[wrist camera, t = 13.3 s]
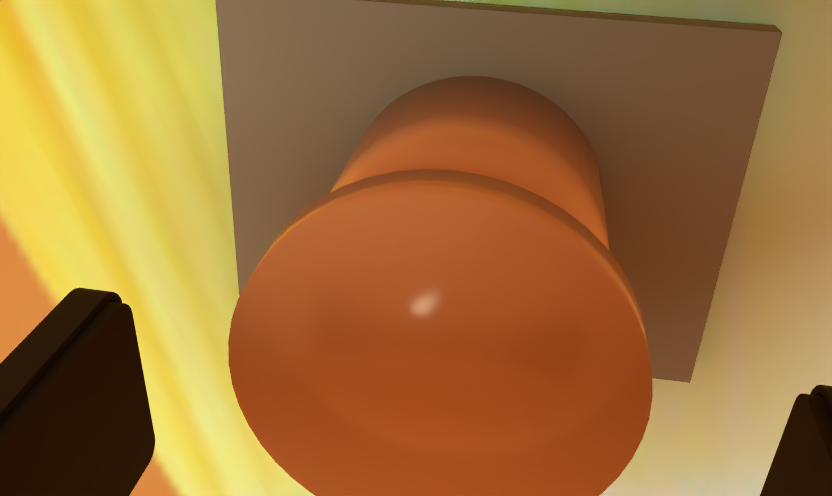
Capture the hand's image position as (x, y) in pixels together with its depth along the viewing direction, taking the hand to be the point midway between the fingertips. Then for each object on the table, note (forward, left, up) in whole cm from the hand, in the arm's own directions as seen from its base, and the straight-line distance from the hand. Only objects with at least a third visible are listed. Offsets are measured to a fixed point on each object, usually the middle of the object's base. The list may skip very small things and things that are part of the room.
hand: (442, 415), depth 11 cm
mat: (0, +1, -9) cm, 9 cm away
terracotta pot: (0, +1, -9) cm, 9 cm away
